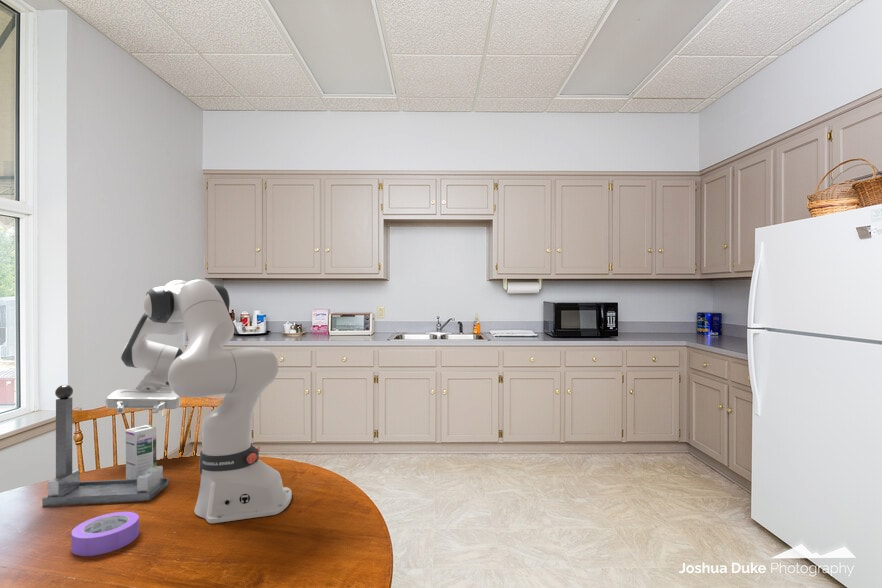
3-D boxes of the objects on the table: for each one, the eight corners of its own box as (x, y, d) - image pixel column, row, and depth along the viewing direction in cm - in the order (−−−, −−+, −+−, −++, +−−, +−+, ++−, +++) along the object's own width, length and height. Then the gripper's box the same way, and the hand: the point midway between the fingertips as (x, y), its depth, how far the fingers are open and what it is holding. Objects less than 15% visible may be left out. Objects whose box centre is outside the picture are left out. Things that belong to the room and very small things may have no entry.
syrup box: (135, 483, 128) (135, 431, 128) (125, 479, 131) (125, 428, 131) (156, 476, 132) (157, 426, 132) (146, 472, 136) (146, 423, 136)
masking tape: (72, 539, 99) (72, 521, 99) (136, 522, 106) (136, 506, 106) (70, 564, 90) (70, 544, 90) (141, 544, 97) (141, 526, 97)
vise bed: (168, 484, 127) (168, 464, 127) (149, 501, 117) (149, 478, 117) (70, 489, 124) (70, 468, 124) (42, 506, 114) (42, 483, 114)
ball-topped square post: (81, 485, 123) (81, 382, 123) (60, 498, 115) (60, 387, 115) (67, 486, 123) (67, 382, 123) (45, 499, 115) (45, 388, 115)
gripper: (114, 382, 149) (97, 401, 136) (185, 383, 155) (175, 401, 142) (114, 400, 150) (97, 420, 137) (184, 400, 157) (174, 420, 144)
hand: (137, 411), depth 140 cm, fingers open, 8 cm apart
